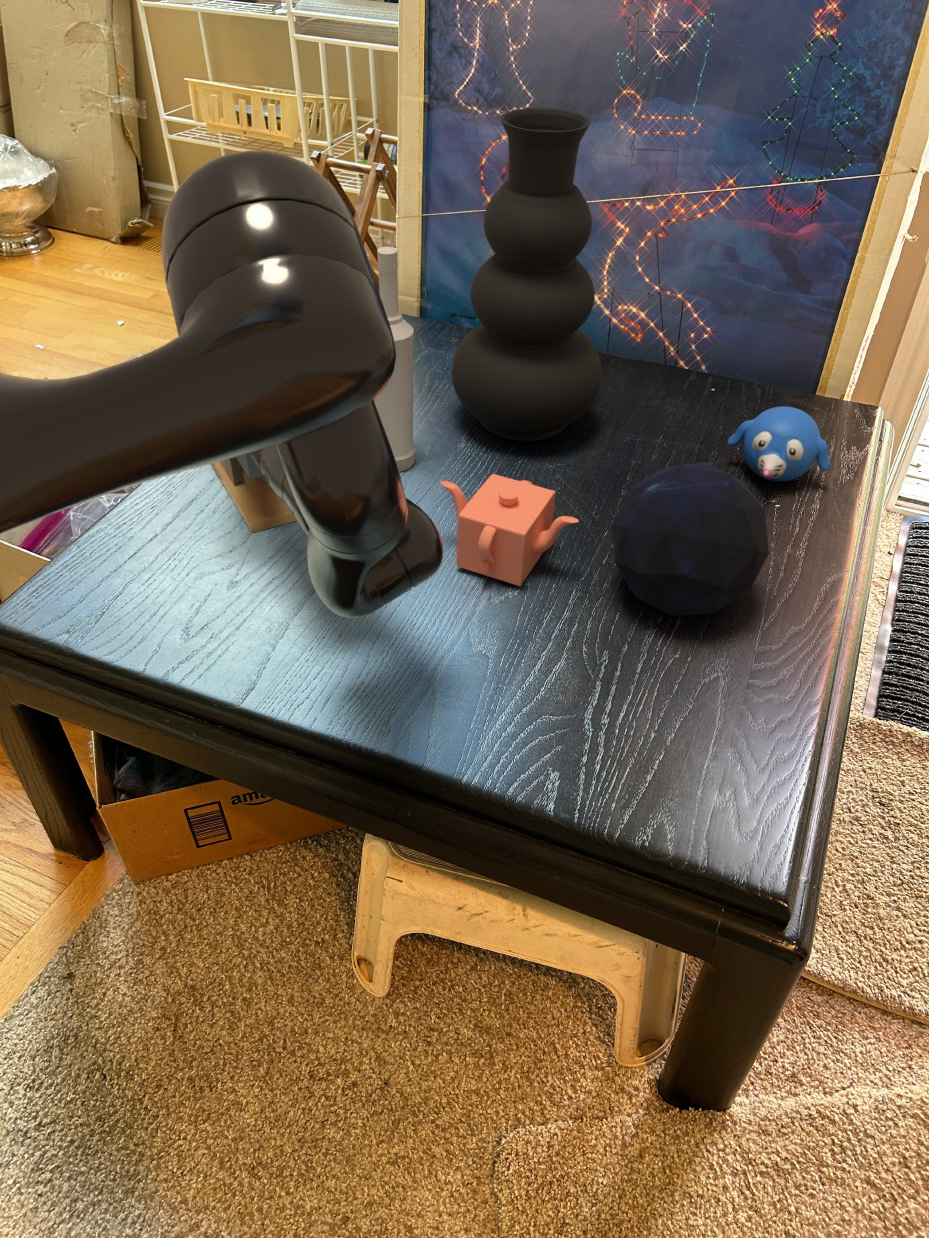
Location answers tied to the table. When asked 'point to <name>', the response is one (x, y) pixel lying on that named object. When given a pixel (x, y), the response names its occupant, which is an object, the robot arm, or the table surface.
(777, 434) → the blue mole toy
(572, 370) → the vase
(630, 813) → the table surface
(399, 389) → the bottle
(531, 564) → the teapot
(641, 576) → the decorative orb
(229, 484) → the stand
